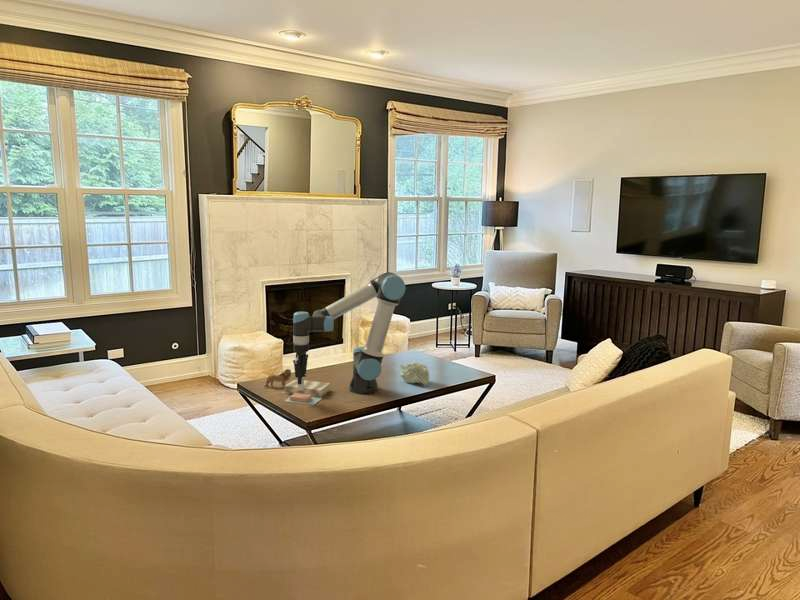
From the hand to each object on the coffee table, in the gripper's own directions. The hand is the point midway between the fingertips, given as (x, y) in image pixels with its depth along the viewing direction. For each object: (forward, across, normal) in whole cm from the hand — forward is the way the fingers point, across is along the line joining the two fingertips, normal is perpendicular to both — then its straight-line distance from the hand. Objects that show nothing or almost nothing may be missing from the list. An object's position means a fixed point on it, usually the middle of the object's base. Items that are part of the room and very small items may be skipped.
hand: (300, 389), depth 288 cm
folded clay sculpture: (+6, -47, +47) cm, 67 cm away
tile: (+3, 0, 0) cm, 3 cm away
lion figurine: (+6, -16, -20) cm, 27 cm away
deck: (+6, -13, -2) cm, 14 cm away
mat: (+6, -1, +1) cm, 6 cm away
